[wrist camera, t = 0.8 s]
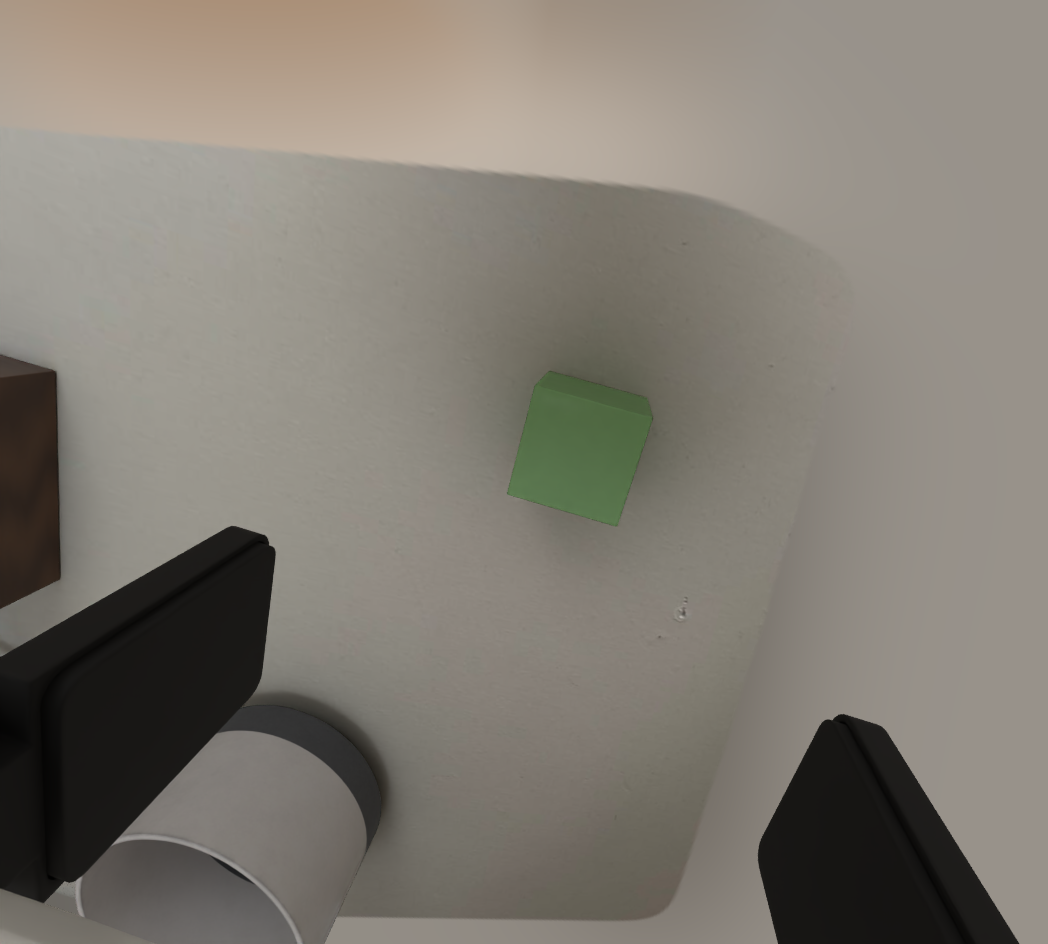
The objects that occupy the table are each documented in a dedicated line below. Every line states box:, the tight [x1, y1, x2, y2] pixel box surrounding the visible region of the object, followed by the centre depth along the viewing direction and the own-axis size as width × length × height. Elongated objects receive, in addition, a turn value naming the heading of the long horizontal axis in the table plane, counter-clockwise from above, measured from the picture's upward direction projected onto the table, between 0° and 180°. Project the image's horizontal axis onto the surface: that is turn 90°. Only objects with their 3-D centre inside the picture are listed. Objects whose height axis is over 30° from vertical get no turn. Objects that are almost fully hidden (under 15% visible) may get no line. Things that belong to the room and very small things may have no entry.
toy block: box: [507, 371, 653, 526], centre depth 26 cm, size 5×5×5 cm
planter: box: [75, 705, 381, 944], centre depth 33 cm, size 13×13×10 cm
